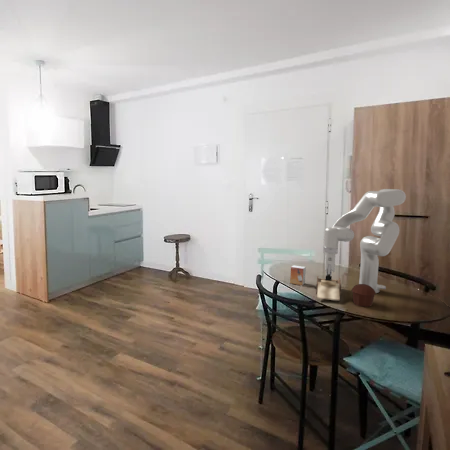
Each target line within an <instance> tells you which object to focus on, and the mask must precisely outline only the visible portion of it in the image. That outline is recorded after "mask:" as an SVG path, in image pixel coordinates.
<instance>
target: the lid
mask: <svg viewBox="0 0 450 450" xmlns="http://www.w3.org/2000/svg"><path fill="white" fill-rule="evenodd" d="M316 298H317V299H319V300H320V299H322V300H328V301H329V300H331V301H340V300H341V297H340V294H339V284H337V283H336V281H327V280H321V282H318V292H317V295H316Z"/></svg>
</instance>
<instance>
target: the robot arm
mask: <svg viewBox="0 0 450 450" xmlns="http://www.w3.org/2000/svg"><path fill="white" fill-rule="evenodd" d="M406 198H407V194H406V193H405V191H403V190H402V189H395V188H394V189H392V188H383V189H379V190H369V191H367V192H365V193H364V194H363V195H362V197H361V198H360V199H359V201H358V202H357V203H356V204H355V206H354V207H353V208H352V209H351V210H350V211H348V212H346V213H345V214H343V215H342V216H341V217H339V218H338V219H337V220H336V221H335V223H334V224H333V225H332V227H326V228H325V229H324V236H323V237H324V239H323V250H322V252H323V254H325V256H324V269H325V272H326V273H325V278H324V279H325V280H327V281H331V280H333V279H332V273H334V272H335V270H336V269H335V267H336V255H337V254H338V252H339V242H345V243H347V242H351V241H352V240H354V237H355V232H354V231H353V229H351V228H349V226H350V225H352V224H355V223H357V222H361V221H364V220H366V219H367V217H368V216H369V215H370V213H371V212H372V210H373V209H374V208H375V207H377V208H379V210H378V213H377V214H376V217H375V219H374V220H373V222H372V225H371V227H370V232H371V234H372V235H374V236H372V235H366V236H364V237H362V239H360V241H359V242H360V243H359V246H360V247H359V248H360V249H359V250H360V265H359V266H360V268H359V269H360V270H359V281H358V284H366V285H369V286H371V287H372V288H373V289H374V290H375V292H376V294H377V293H379V292H380V290H386V289H387V287H386V285H383V284H378V278H379V277H378V274H379V265H380V264H379V263H380V261H379V257H385V256H387V255H389V253H390V252H391V250H392V249H393V247H394V245H395V244H396V241H397V240H398V237H399V235H400V226H399V224H398V223H397V222H395V221H393V220H394V218H395V213H396V212H395V206H396V207H397V206H400V205H402V204H403V203H405V201H406V200H407V199H406Z"/></svg>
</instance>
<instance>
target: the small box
mask: <svg viewBox="0 0 450 450" xmlns="http://www.w3.org/2000/svg"><path fill="white" fill-rule="evenodd" d="M306 268H307V266H300V265H295V264H294V265H292V266H290V275H289V278H290V279H289V284H294V285H296V286H297V285H298V286H303V285H304V284H305V283H306V273H307V272H306V270H307V269H306Z"/></svg>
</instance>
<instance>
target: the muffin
mask: <svg viewBox="0 0 450 450" xmlns="http://www.w3.org/2000/svg"><path fill="white" fill-rule="evenodd" d="M351 293H352V300H353V302H352V303H354V305H356V306H358V307H364V308H365V307H372V305H373V303H374V297H375V296H376V294H377V293H376V292H375V290H374V289H373V288H372V287H371V286H369V285H366V284H359V283H358V284H355V285H354V286H353V287H352V289H351Z"/></svg>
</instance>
